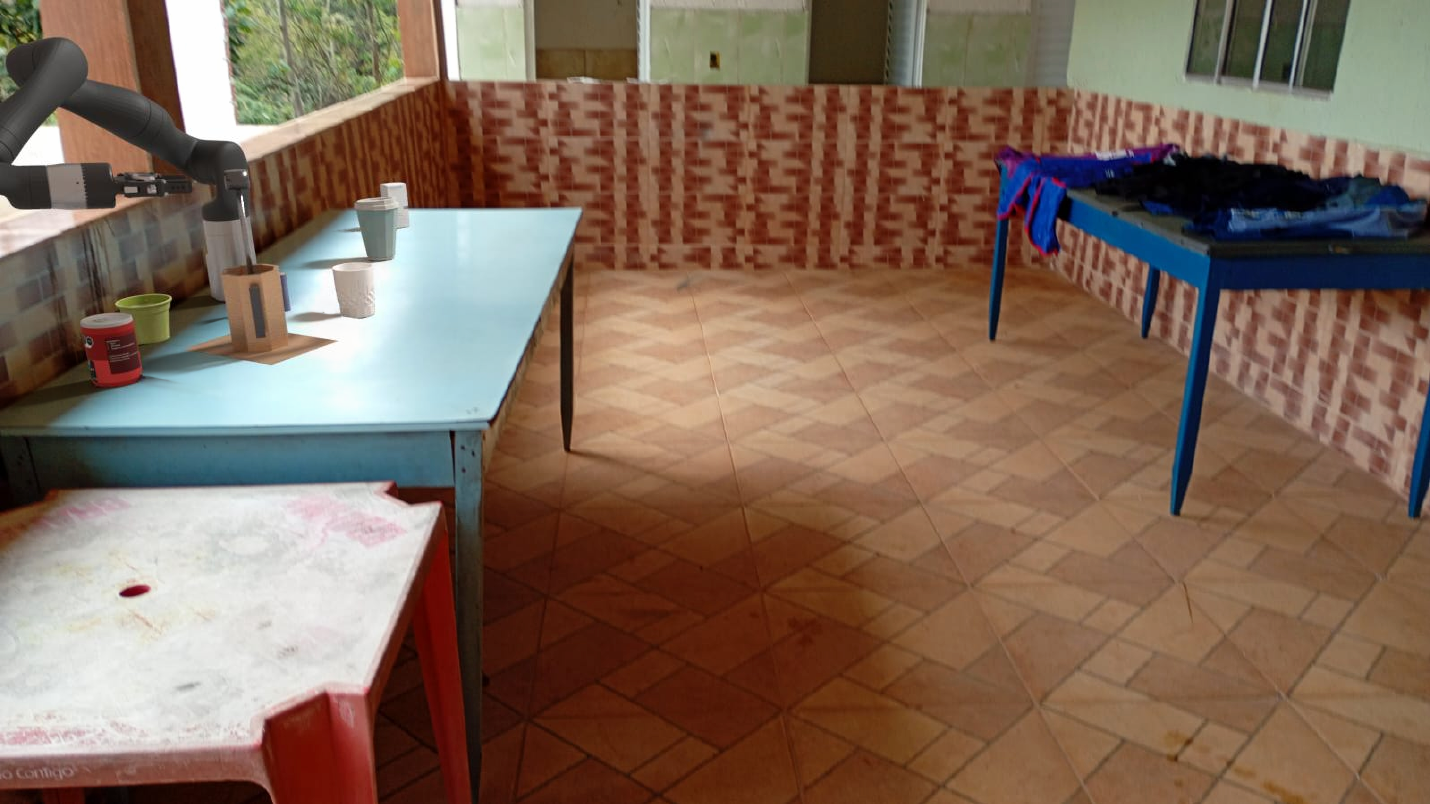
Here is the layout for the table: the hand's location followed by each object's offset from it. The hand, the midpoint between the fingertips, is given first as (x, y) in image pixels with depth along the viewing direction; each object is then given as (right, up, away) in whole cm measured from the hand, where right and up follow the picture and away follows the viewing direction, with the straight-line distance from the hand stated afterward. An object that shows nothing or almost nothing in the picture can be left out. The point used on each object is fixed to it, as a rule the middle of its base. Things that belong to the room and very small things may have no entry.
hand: (188, 183), depth 194 cm
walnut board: (+7, -28, +14) cm, 32 cm away
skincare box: (+1, +12, +125) cm, 126 cm away
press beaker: (+7, -27, +14) cm, 31 cm away
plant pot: (-15, -27, +19) cm, 36 cm away
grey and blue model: (-1, -20, +38) cm, 43 cm away
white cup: (+17, -20, +38) cm, 46 cm away
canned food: (-11, -34, -1) cm, 36 cm away
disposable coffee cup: (+7, -2, +88) cm, 88 cm away
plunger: (+7, -19, +11) cm, 23 cm away
